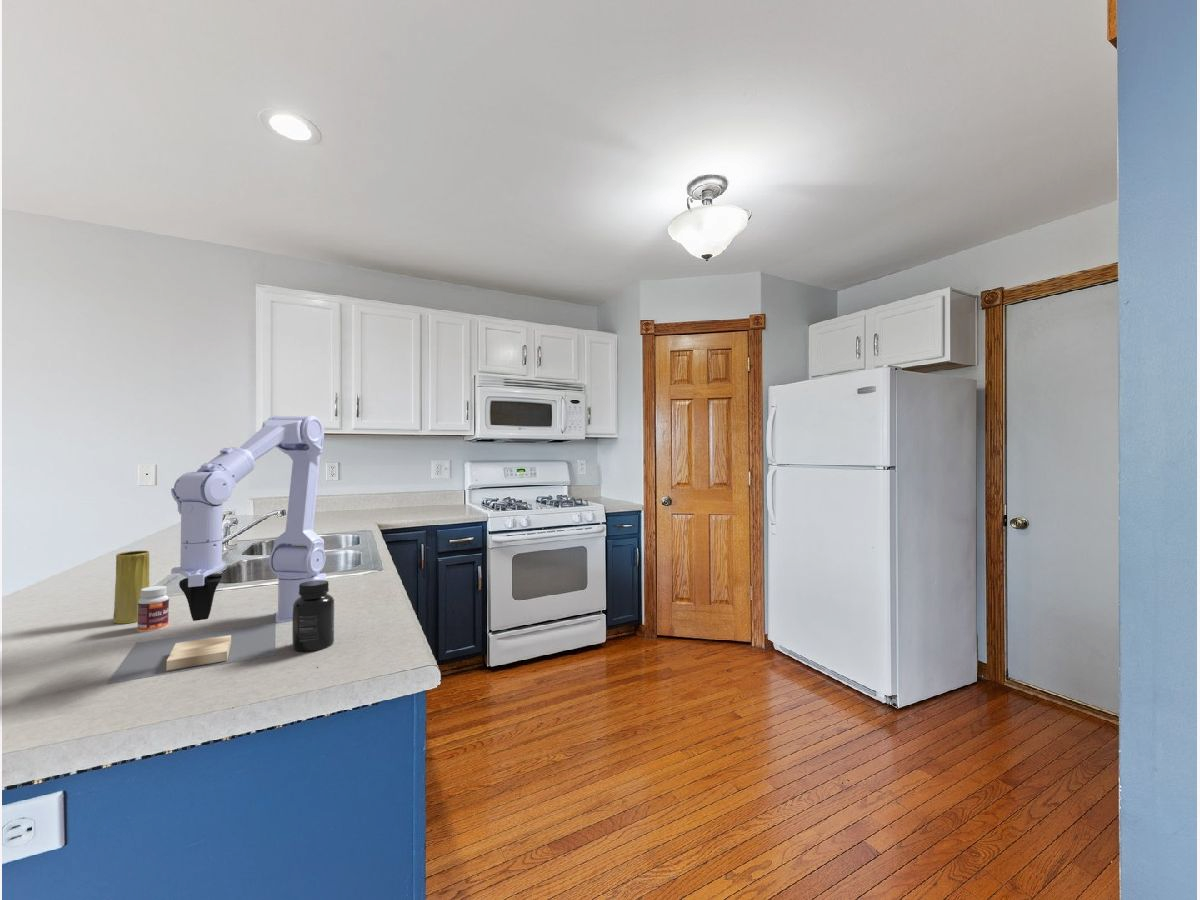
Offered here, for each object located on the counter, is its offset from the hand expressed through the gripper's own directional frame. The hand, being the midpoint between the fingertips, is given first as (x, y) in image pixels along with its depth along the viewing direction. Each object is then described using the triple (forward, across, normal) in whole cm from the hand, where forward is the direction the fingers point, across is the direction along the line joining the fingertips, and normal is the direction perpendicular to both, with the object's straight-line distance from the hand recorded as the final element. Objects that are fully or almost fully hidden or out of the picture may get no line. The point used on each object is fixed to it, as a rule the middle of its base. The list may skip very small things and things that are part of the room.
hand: (200, 619), depth 89 cm
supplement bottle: (+7, +3, +17) cm, 19 cm away
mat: (+7, -5, 0) cm, 9 cm away
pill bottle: (+7, -24, -10) cm, 27 cm away
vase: (+7, -34, -15) cm, 38 cm away
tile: (+6, -5, 0) cm, 8 cm away
